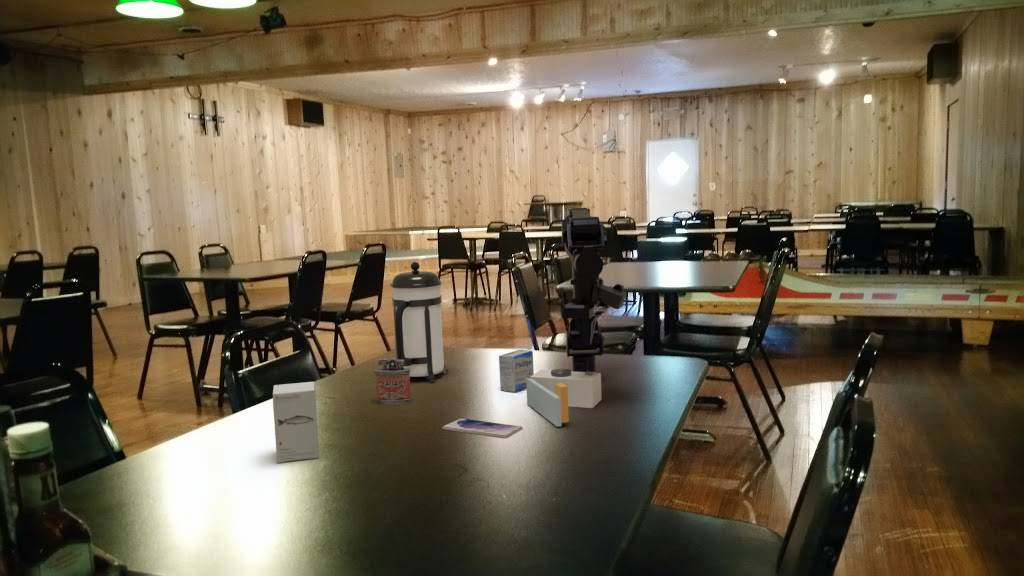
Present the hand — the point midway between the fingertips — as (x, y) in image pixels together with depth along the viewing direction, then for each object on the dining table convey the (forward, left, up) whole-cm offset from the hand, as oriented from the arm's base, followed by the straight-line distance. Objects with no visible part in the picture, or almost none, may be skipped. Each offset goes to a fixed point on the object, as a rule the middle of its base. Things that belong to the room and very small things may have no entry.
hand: (588, 344), depth 161 cm
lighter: (+14, -42, -12) cm, 46 cm away
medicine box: (-4, -19, -12) cm, 23 cm away
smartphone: (+27, -14, -13) cm, 33 cm away
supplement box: (+50, -40, -12) cm, 65 cm away
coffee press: (-7, -47, -12) cm, 49 cm away
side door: (+15, -5, -12) cm, 20 cm away
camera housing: (+4, -4, -12) cm, 13 cm away
